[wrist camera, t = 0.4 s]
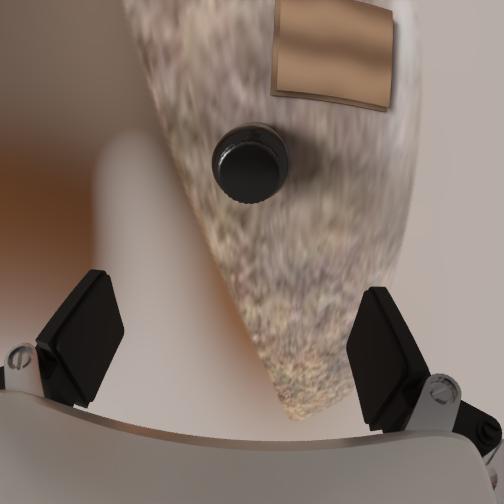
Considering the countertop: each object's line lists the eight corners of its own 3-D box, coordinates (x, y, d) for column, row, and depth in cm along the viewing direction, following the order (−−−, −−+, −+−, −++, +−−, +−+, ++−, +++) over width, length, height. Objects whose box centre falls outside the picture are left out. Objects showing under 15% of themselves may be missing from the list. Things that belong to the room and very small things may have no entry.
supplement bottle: (295, 158, 31) (314, 187, 21) (246, 190, 33) (239, 234, 23) (260, 109, 29) (260, 110, 18) (211, 144, 31) (184, 166, 20)
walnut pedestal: (275, -6, 21) (276, -16, 19) (386, 14, 21) (396, 8, 19) (270, 95, 28) (271, 94, 25) (382, 111, 28) (392, 112, 25)
